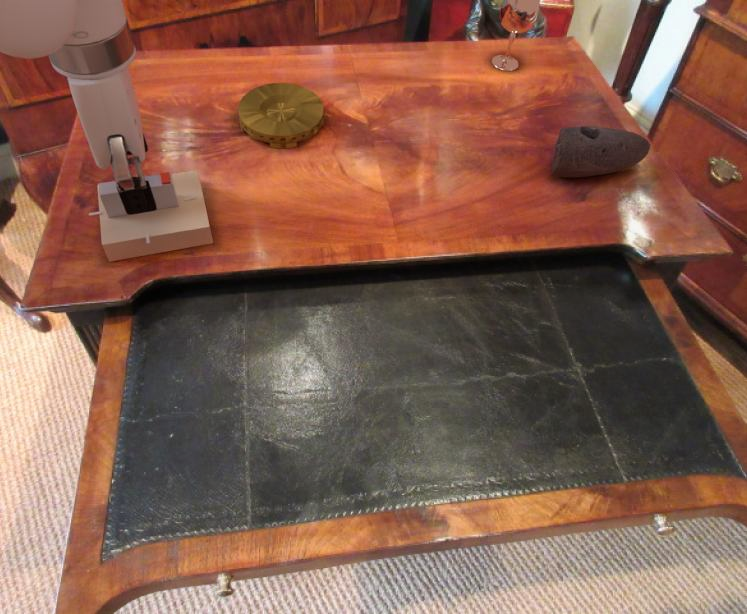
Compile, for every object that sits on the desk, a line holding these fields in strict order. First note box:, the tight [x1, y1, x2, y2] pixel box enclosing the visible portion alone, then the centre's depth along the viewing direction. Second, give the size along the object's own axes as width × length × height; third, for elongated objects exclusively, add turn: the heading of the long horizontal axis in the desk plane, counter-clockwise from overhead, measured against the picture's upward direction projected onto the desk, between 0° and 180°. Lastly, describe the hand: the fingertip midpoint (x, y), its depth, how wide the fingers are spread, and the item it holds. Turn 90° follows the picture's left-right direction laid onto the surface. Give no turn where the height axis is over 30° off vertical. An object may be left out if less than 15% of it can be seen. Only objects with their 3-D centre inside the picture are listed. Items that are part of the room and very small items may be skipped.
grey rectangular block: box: [98, 171, 179, 218], centre depth 70 cm, size 8×2×4 cm, turn 107°
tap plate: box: [88, 169, 214, 262], centre depth 73 cm, size 13×12×3 cm
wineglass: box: [491, 0, 541, 72], centre depth 95 cm, size 6×6×12 cm
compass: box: [237, 82, 325, 149], centre depth 86 cm, size 12×12×2 cm
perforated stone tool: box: [551, 125, 651, 179], centre depth 83 cm, size 15×5×7 cm, turn 98°
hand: (138, 180), depth 69 cm, fingers open, 9 cm apart
